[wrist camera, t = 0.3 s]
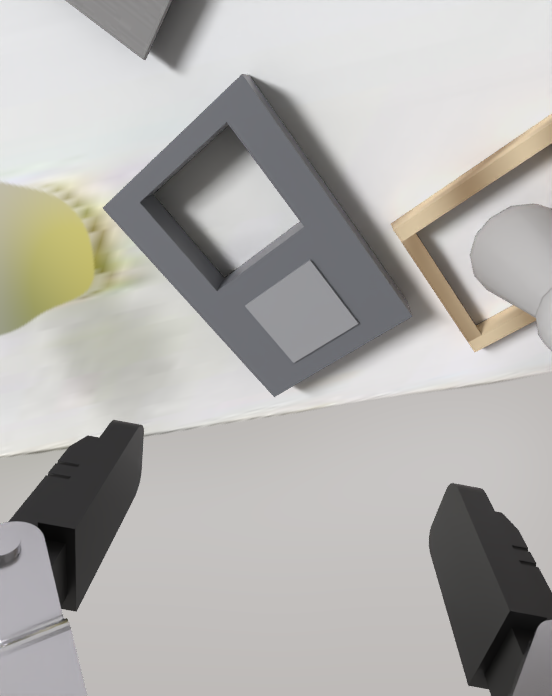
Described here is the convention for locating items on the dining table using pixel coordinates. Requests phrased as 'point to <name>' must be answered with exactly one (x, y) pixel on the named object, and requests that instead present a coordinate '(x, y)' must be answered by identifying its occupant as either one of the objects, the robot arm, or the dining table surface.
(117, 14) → the electrical outlet
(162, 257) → the grey rectangular frame
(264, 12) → the dining table surface
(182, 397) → the dining table surface
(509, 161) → the wooden square frame
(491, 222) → the salt shaker
